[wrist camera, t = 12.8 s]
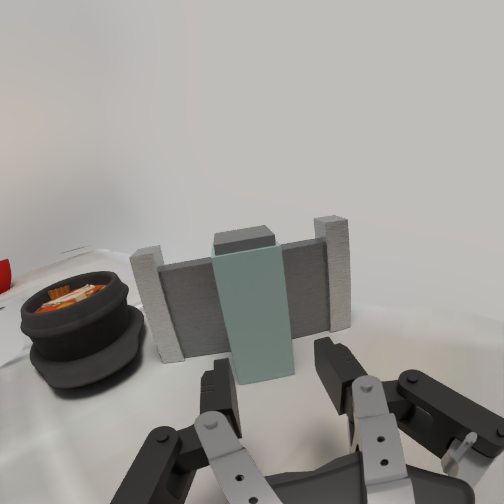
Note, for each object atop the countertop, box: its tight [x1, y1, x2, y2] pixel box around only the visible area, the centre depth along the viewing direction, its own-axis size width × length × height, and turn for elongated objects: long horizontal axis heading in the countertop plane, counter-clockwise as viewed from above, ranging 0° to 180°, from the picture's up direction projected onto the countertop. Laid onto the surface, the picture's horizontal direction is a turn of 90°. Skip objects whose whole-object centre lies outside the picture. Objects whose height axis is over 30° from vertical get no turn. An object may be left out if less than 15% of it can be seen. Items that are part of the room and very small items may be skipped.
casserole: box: [20, 271, 144, 389], centre depth 30 cm, size 25×19×8 cm
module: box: [211, 225, 295, 385], centre depth 23 cm, size 5×5×13 cm
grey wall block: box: [129, 215, 351, 363], centre depth 28 cm, size 21×6×12 cm, turn 97°
